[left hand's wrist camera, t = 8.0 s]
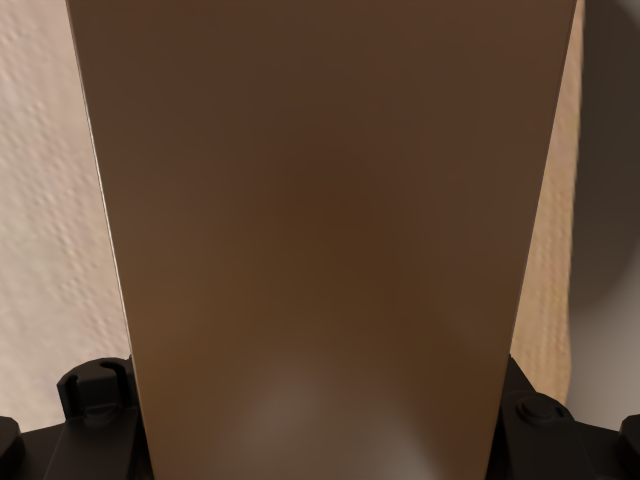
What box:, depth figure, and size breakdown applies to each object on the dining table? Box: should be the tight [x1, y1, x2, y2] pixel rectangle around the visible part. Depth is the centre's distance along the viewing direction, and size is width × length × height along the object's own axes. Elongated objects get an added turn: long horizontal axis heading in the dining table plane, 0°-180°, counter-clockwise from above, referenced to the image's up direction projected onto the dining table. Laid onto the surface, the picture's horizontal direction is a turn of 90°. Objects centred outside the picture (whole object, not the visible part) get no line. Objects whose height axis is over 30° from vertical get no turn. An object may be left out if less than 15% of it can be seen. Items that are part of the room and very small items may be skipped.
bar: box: [66, 0, 577, 480], centre depth 9 cm, size 21×5×9 cm, turn 0°
